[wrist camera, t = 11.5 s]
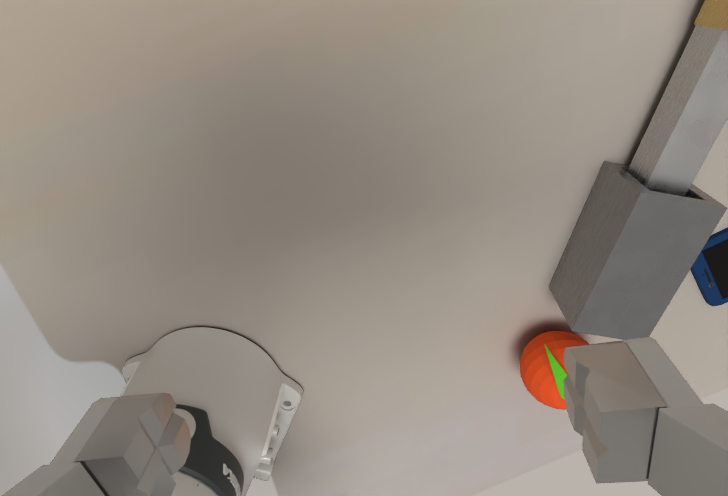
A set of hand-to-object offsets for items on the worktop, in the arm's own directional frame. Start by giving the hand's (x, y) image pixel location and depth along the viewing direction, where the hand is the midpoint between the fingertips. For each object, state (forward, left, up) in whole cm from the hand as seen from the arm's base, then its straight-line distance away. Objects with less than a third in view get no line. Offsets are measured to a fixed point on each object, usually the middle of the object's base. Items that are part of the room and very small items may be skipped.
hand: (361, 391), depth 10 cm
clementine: (-20, -20, -29) cm, 41 cm away
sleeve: (-8, -21, -29) cm, 37 cm away
